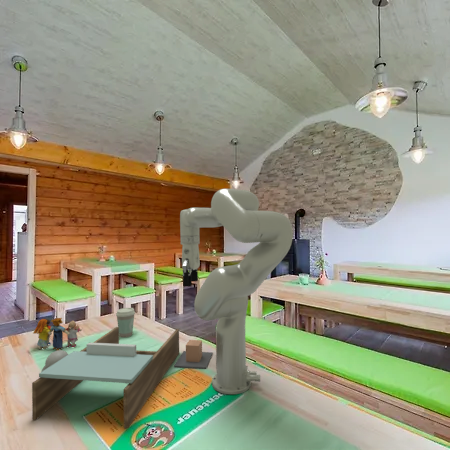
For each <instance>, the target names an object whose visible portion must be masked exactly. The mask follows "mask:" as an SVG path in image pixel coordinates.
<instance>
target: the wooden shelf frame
mask: <svg viewBox="0 0 450 450" xmlns="http://www.w3.org/2000/svg"><path fill="white" fill-rule="evenodd" d="M92 343H111V344H120V336H119V327H118V326H116V327H114V328H112V329H111V330H110V331H107V333H105V334H104V335H102V336H101V337H99V338H97V339H96V340H95V341H92ZM80 351H82V352H87V347H84V348H83V349H80ZM136 354H141V355H153V359H152V360H151V361H150V363H149V364H148V365H147V366H146V367H145V368H144V370H143V371H142V372H141V373H140V374H139V375H138V377H137V378H136V379H135V380H134V381H133V382H132V383H131V384H130V383H127V385H126V386H125V387H124V388H123V389H122V390H123V428H124V429H127V428H128V429H129V428H130V426H131V424H132V423H133V422H134V420H135V419H136V417H137V416H138V414H139V413H140V412H141V410H142V408H143V407H144V406H145V404H146V402H147V401H149V398H150V396H151V395H152V394H153V392H154V391H155V390H156V388H157V387H158V386H159V384H160V382H161V381H162V379H163V378H164V377H165V375H166V374H167V372H169V371H168V370H169V369H170V368H171V367H172V365H173V363H174V362H175V361H176V359H177V357H178V356H179V354H180V329H179V328H176V329H175V330H174V331H173V333H172V334H171V335H170V336H169V337H168V338H167V339H166V341H165V342H164V343H163V344H162V345H161V346H160V347H159V349H158V350H156V351H155V350H153V351H152V350H137V349H136ZM83 381H84V380H72V379H57V378H42V377H38V379H36V380H34V381H33V382H32V383H31V393H32V395H31V399H32V400H31V401H32V403H31V404H32V405H31V409H32V413H31V414H32V419H31V420H34V421H37V420H38V419H39V418H40V417H41V416H42V415H43V414H45V413H46V412H47V411H48V410H50V409H51V408H52V407H53V406H54V405H56V404H57V403H58V402H60V401H61V400H62V399H63V398H64V397H65V396H66V395H68V394H69V393H70V392H71V391H72V390H73V389H75V388H76V387H78V385H79V384H81V383H82V382H83Z"/></svg>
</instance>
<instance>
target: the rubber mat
mask: <svg viewBox="0 0 450 450" xmlns="http://www.w3.org/2000/svg"><path fill="white" fill-rule="evenodd" d="M212 357H213V352H211V351H202V357H201V359H200V361H199V362H187V361H186V350H183V351H182V353H181V354H180V356H179V357H178V359H177V360H176V362H175V364H173V368H177V369H178V368H181V369H197V370H198V369H199V370H207V368H208V366H209V363H210V362H211V359H212Z"/></svg>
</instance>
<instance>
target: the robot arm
mask: <svg viewBox="0 0 450 450" xmlns="http://www.w3.org/2000/svg"><path fill="white" fill-rule="evenodd" d="M259 207H260V201H259V198H258V196H257V195H256V194H255V193H253V192H252V191H249V190H246V189H244V190H243V189H235V188H221V189H219V190H217V191H216V192H215V193H214V194H213V196H212V198H211V202H210V207H190V208H186V209H183V210H181V211H180V214H179V226H180V229H179V230H180V233H179V234H180V245H182V248H181V267H182V286H183V287H192V285H193V284H192V282H198V281H199V280H198V279H199V278H198V277H199V272H198V271H199V270H198V269H199V267H200V265H201V264H200V263H201V262H200V250H199V249H200V248H199V245H200V243H201V242H200V229H201V228H218V227H223V228H224V229H225V230H226V231H227V232H228V234H229V235H231V237H232V238H233V239H235V240H236V241H237V242H240V243H243V244H251V243H253V244H254V243H258V244H256V245H255V246H253V247H252V248H251V249H250V250H249V251H248V252H247V253H246V254H245V256H244V257H243V259H242V260H241V261H240V262H239V263H237V264H232V265H226V266H220V267H216V268H215V269H212V271H211V272H210V273H209V274H208V275H207V277H206V279H205V280H204V282H203V283H202V285H201V286H200V288H199V290H198V291H197V292H196V293H197V294H196V295H195V299H194V306H193V307H194V312H195V314H196V315H197V317H198V318H199V319H201V320H202V321H206V322H207V321H215V320H217V323H216V327H215V351H216V352H215V354H216V355H215V356H216V357H215V361H216V363H215V364H216V367H215V368H216V373H215V374H214V376H213V377H212V379H211V386H212V388H213V389H214V390H215V391H216V392H219V393H221V394H223V395H238V394H242V393H244V392H246V391H248V390H249V389H250V388H251V386H252V382H257V383H258V382H261V374H258V372H257V371H255V370H254V371H253V370H252V371H251V370H249V369H248V365H247V361H246V360H247V358H246V352H247V351H246V347H247V346H246V319H247V311H248V305H249V297H248V296H250V295H253V294H254V293H255V292H256V291H257V290H258V289H259V287H260V286H261V285H262V283H264V281H266V279H267V278H268V277H269V276H270V274H271V273H272V272H273V270H275V268H276V267H278V265H279V264H280V263H281V262H282V260H284V258H285V257H286V256H287V254H288V252H289V251H290V249H291V246H292V242H293V236H294V235H293V234H294V233H293V231H294V230H293V226H292V222H291V220H290V219H289V218H288V217H287V216H286V215H285V214H283V213H281V212H277V211H273V210H259Z"/></svg>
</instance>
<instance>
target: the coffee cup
mask: <svg viewBox="0 0 450 450" xmlns="http://www.w3.org/2000/svg"><path fill="white" fill-rule="evenodd" d="M135 315H136V312H135V309H134V308H133V307H124V308H123V307H122V308H120V309H117V311H116V312H115V316H116V319H117V320H116V321H117V327H119V338H130V337H131V336H132V335H133V331H134V319H135Z"/></svg>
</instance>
